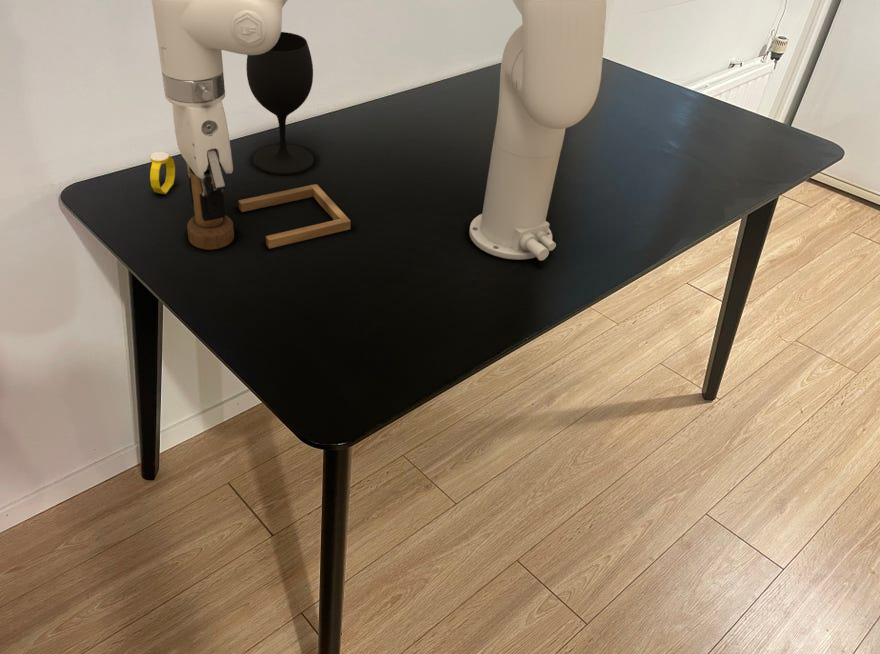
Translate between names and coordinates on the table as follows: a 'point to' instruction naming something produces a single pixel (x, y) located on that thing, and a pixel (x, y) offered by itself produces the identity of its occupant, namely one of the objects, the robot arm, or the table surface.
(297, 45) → the wine glass
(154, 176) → the watch
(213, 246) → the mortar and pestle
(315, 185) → the frame
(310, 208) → the table surface
